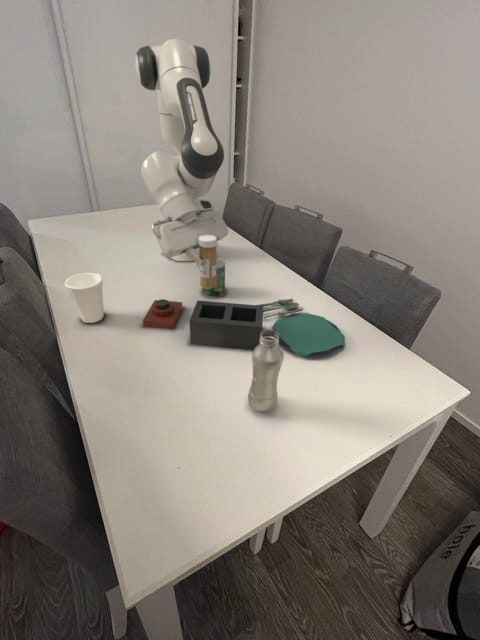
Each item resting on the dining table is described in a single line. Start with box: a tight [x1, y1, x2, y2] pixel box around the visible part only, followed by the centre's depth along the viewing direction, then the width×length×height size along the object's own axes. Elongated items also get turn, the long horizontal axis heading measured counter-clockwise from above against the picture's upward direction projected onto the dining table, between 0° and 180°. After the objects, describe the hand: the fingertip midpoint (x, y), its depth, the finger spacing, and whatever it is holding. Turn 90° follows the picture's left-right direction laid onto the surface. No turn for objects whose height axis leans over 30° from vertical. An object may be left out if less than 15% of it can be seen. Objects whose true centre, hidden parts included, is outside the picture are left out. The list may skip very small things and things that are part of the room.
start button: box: [156, 298, 169, 310], centre depth 103 cm, size 4×4×2 cm
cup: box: [64, 272, 104, 324], centre depth 99 cm, size 10×10×13 cm
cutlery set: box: [258, 298, 346, 357], centre depth 102 cm, size 20×30×2 cm, turn 23°
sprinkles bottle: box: [198, 235, 218, 289], centre depth 86 cm, size 5×5×13 cm
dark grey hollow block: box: [189, 299, 265, 351], centre depth 96 cm, size 11×20×8 cm, turn 85°
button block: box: [142, 299, 183, 330], centre depth 104 cm, size 12×9×4 cm
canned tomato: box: [202, 258, 226, 298], centre depth 116 cm, size 8×8×11 cm
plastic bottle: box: [247, 329, 285, 413], centre depth 72 cm, size 6×7×20 cm
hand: (209, 261), depth 86 cm, fingers closed on sprinkles bottle, 4 cm apart
